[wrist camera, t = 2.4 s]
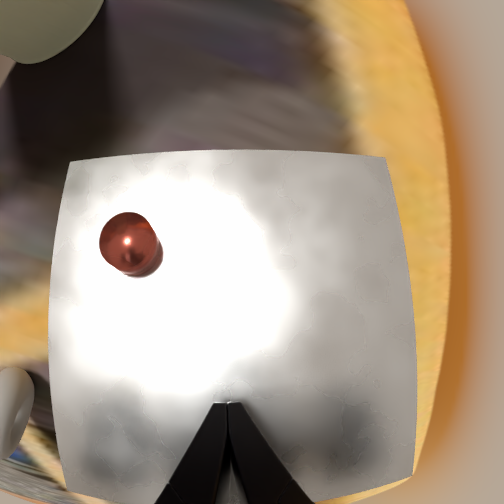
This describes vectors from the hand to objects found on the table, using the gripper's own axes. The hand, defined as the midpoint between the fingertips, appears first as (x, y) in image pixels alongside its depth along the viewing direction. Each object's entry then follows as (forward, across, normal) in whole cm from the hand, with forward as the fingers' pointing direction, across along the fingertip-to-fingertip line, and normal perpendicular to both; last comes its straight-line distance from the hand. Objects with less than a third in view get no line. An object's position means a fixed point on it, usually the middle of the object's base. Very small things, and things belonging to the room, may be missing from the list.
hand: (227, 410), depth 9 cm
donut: (+13, +21, +12) cm, 27 cm away
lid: (+2, 0, 0) cm, 2 cm away
